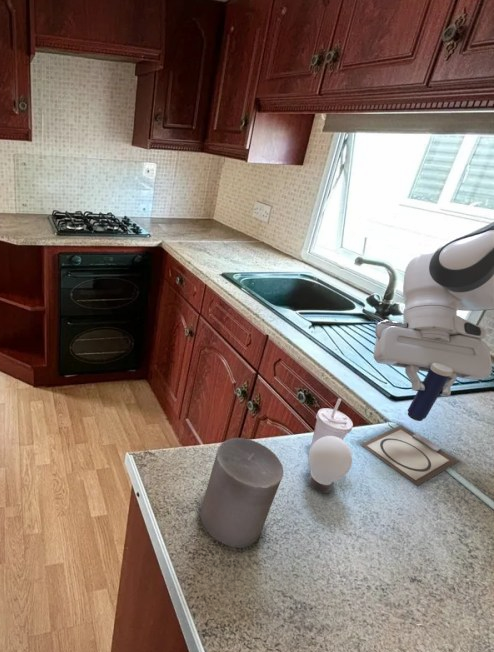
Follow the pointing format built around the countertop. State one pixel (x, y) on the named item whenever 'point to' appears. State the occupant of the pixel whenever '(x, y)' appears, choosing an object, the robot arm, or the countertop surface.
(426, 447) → the clipboard
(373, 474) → the countertop surface
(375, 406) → the countertop surface
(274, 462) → the pillar candle
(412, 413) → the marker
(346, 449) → the light bulb
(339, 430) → the smoothie
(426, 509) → the countertop surface
